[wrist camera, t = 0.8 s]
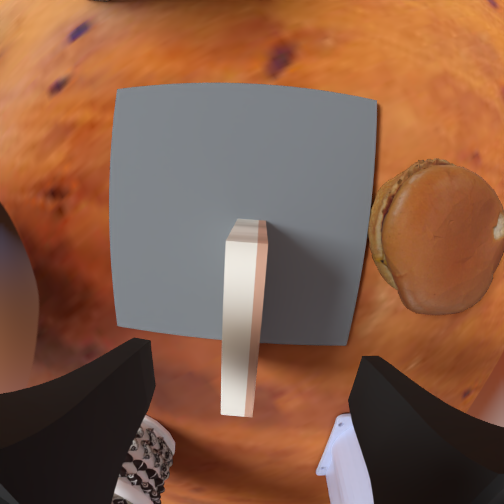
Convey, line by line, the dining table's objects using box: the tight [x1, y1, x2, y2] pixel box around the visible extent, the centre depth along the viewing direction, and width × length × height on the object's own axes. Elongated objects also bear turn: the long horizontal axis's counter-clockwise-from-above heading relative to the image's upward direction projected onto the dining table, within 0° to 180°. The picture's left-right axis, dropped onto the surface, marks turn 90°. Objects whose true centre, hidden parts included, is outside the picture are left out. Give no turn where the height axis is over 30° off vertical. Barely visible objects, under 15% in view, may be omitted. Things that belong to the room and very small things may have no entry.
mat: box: [109, 83, 377, 346], centre depth 17 cm, size 16×16×1 cm
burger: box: [368, 159, 504, 315], centre depth 15 cm, size 10×9×5 cm
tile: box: [221, 219, 268, 417], centre depth 15 cm, size 9×2×6 cm, turn 177°
